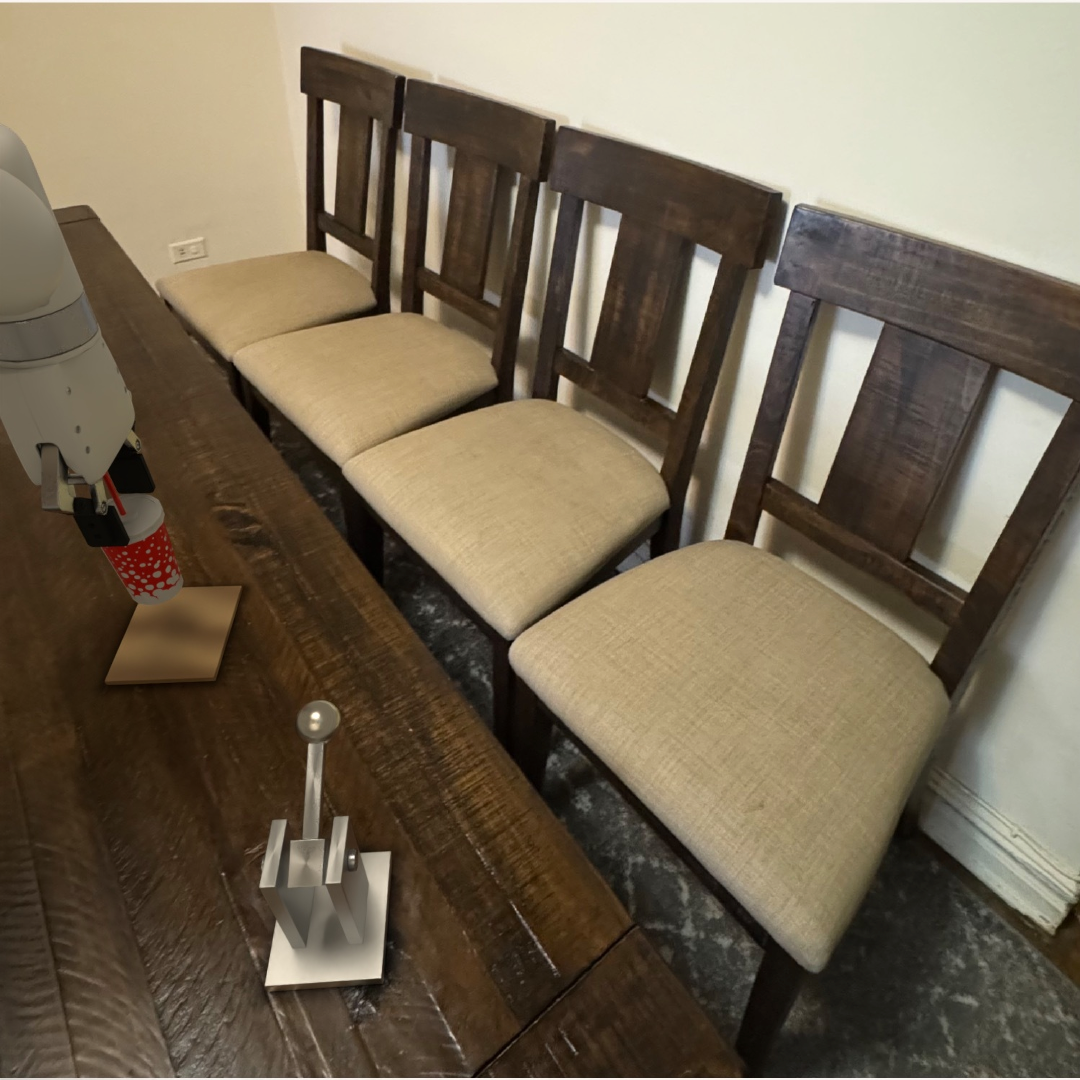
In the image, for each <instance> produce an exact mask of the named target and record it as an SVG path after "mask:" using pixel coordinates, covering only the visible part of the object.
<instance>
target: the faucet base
mask: <svg viewBox="0 0 1080 1080" xmlns="http://www.w3.org/2000/svg"><path fill="white" fill-rule="evenodd" d="M269 829H270V830H269V834H268V840H267V844H266V849H265V853H264V854H263V855H262V858H261V860H260V861H261V862H260V880H259V884H258V889H259V891H260V892H261V895H262V897H263V898H264V900H265V901H266V904H267V905H268V908H269V909H270V911H271V912H272V914H273V916H274V918H275V924H274V928H273V929H274V930H273V934H272V940H271V946H270V951H269V958H268V963H267V968H266V973H265V974H266V975H265V980H264V988H265V990H266V991H267V992H284V991H298V990H311V989H324V988H325V989H326V988H327V989H328V988H341V987H353V986H354V987H355V986H368V985H383V984H384V980H385V966H386V953H387V952H386V951H387V939H388V925H389V913H390V897H391V883H392V871H393V854H392V851H391V850H389V851H369V852H361V851H360V849H359V845H358V842H357V838H356V835H355V833H354V828H353V824H352V822H351V818H350V816H349V815H339V816H336V815H335V816H334V817H333V821H332V828H331V836H330V839H331V842H330V849H329V857H328V864H327V871H326V879H325V885H324V886H313V887H297V888H287V885H288V870H289V856H290V841H291V840H297V839H296V836H295V833H294V832H293V830H292V826H291V825H290V822H289V820H288V818H285V819H284V818H283V819H281V818H280V819H272V820H271V824H270V828H269Z"/></svg>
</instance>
